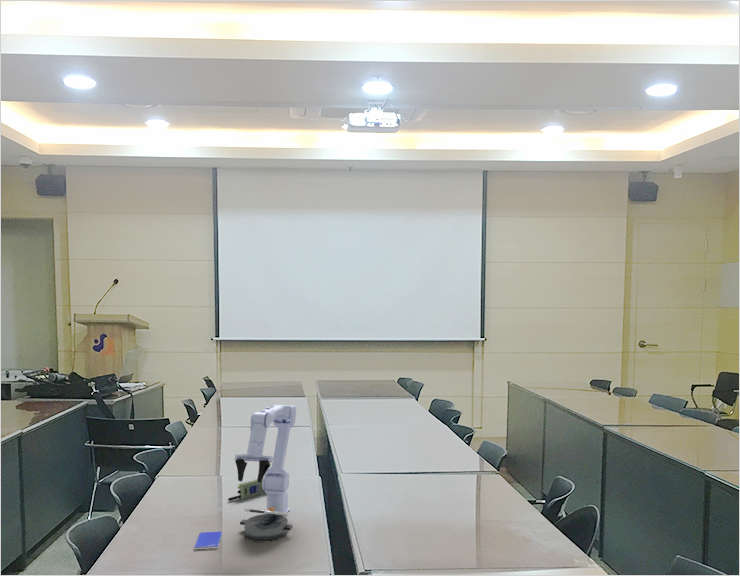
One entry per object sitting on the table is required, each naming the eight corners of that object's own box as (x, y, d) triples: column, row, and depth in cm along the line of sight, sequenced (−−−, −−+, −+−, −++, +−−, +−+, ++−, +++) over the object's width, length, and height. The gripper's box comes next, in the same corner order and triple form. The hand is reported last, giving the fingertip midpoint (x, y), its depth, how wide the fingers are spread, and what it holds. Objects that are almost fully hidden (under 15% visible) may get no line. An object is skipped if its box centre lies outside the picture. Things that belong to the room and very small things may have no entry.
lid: (255, 511, 239) (256, 505, 240) (295, 515, 235) (296, 510, 235) (234, 510, 223) (235, 504, 224) (277, 515, 218) (278, 509, 219)
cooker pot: (253, 519, 241) (252, 509, 241) (300, 525, 235) (300, 515, 235) (231, 538, 224) (231, 527, 224) (282, 545, 218) (282, 534, 218)
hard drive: (217, 545, 216) (222, 531, 228) (194, 547, 215) (199, 532, 227) (217, 550, 216) (222, 535, 228) (194, 551, 215) (199, 536, 227)
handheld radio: (280, 489, 275) (230, 503, 258) (276, 488, 277) (226, 501, 261) (279, 475, 275) (230, 488, 258) (275, 473, 278) (226, 486, 261)
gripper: (234, 440, 225) (226, 478, 218) (270, 441, 221) (263, 480, 215) (242, 445, 231) (235, 482, 224) (277, 446, 227) (271, 484, 221)
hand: (249, 481), depth 220 cm, fingers open, 7 cm apart
